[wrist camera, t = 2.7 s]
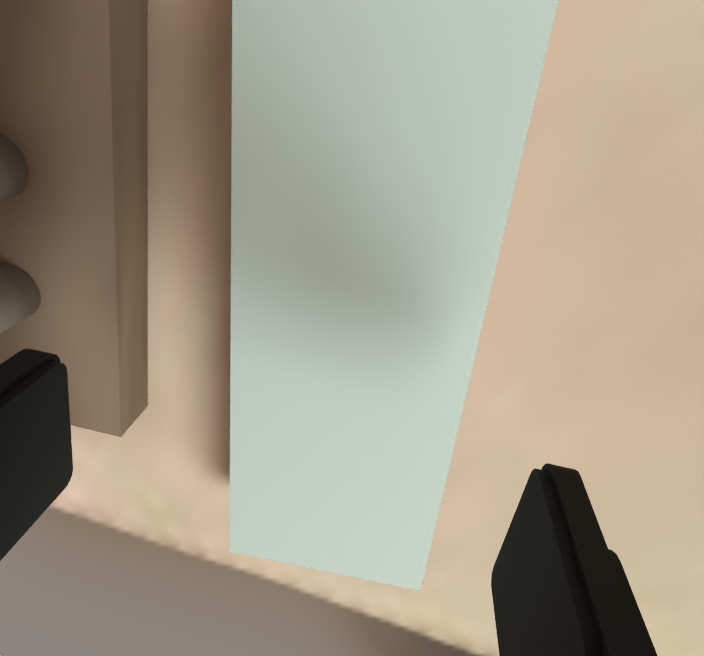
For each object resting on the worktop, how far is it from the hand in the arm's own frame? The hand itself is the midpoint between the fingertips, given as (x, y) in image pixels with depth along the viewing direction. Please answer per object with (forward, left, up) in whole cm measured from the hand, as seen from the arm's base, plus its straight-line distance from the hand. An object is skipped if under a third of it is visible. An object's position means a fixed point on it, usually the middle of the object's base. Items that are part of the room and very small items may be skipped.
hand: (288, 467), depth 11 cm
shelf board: (0, -1, -9) cm, 9 cm away
